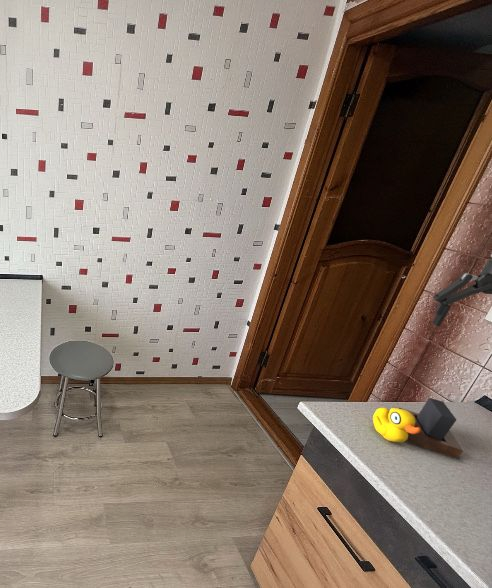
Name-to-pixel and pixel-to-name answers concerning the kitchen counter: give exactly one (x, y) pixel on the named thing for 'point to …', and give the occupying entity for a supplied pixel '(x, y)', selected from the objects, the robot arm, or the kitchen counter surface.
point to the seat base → (435, 441)
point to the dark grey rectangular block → (435, 419)
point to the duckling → (394, 424)
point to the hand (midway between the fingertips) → (466, 331)
